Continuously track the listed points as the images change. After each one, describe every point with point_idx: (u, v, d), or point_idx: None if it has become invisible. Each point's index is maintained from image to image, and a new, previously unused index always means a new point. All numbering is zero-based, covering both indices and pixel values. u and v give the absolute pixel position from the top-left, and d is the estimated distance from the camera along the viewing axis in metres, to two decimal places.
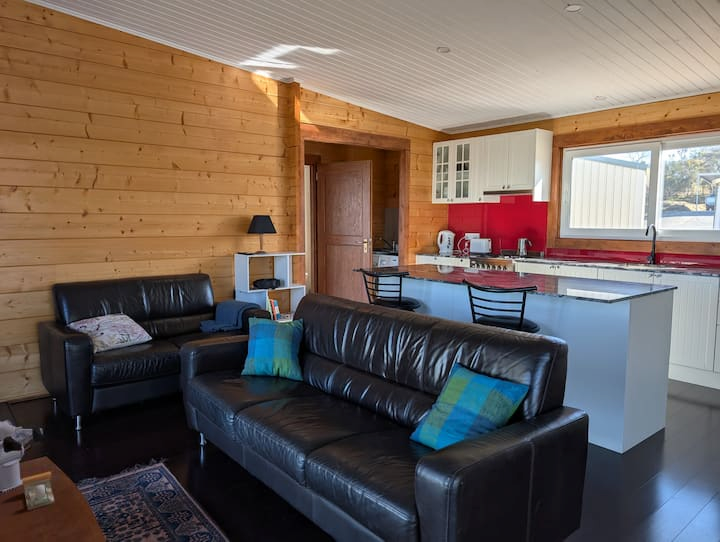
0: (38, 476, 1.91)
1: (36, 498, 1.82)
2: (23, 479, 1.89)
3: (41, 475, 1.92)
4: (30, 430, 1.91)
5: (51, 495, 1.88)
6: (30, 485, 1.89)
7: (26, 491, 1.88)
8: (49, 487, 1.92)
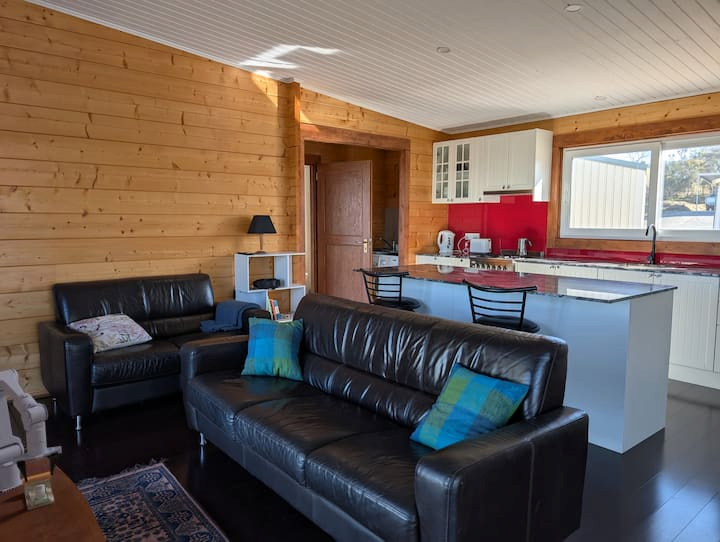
0: (38, 476, 1.91)
1: (36, 498, 1.82)
2: (23, 479, 1.89)
3: (41, 475, 1.92)
4: None
5: (51, 495, 1.88)
6: (30, 485, 1.89)
7: (26, 491, 1.88)
8: (49, 487, 1.92)
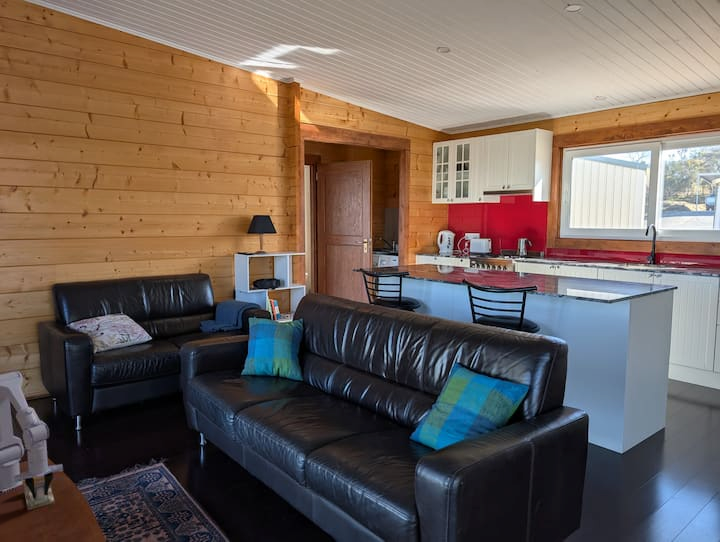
0: None
1: (36, 498, 1.82)
2: None
3: None
4: None
5: (51, 495, 1.88)
6: None
7: (26, 491, 1.88)
8: (49, 487, 1.92)
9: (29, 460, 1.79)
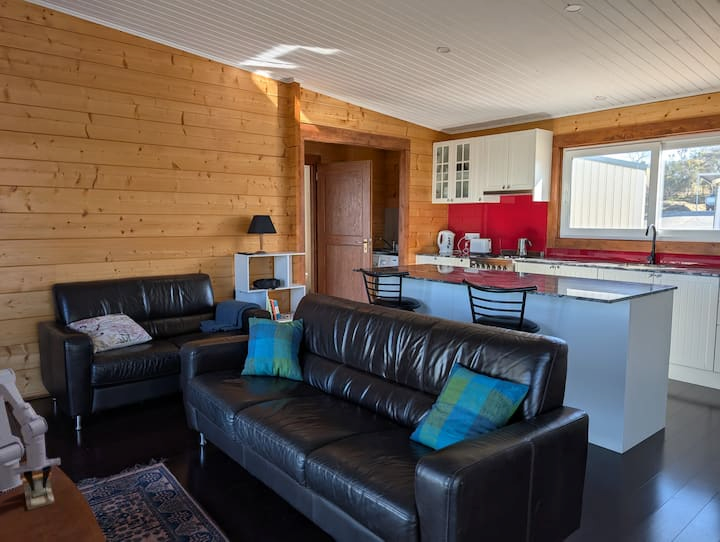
0: (38, 476, 1.91)
1: (34, 491, 1.87)
2: (23, 479, 1.89)
3: (41, 475, 1.92)
4: None
5: (51, 495, 1.88)
6: None
7: (26, 491, 1.88)
8: (49, 487, 1.92)
9: (28, 454, 1.84)
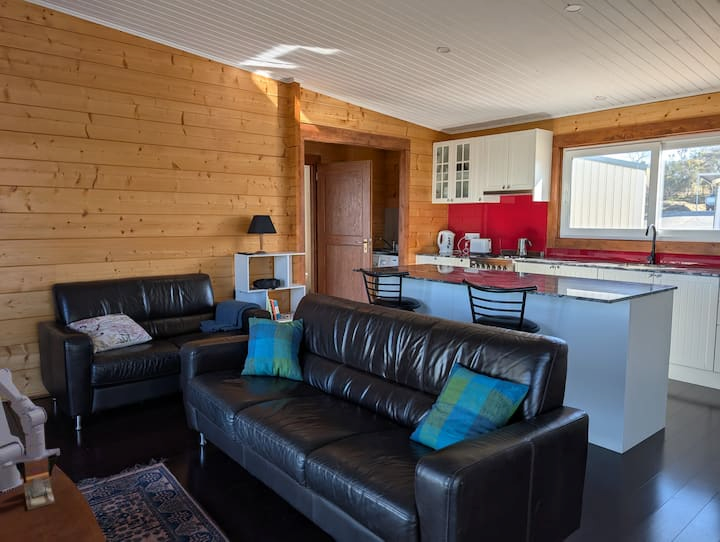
0: (38, 476, 1.91)
1: (34, 491, 1.87)
2: None
3: (41, 475, 1.92)
4: (48, 455, 1.88)
5: (51, 495, 1.88)
6: (30, 485, 1.89)
7: (26, 491, 1.88)
8: (49, 487, 1.92)
9: (27, 444, 1.84)
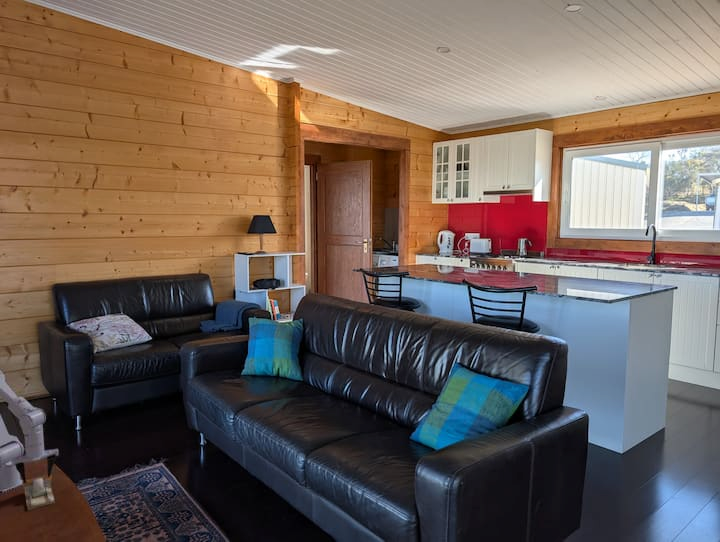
0: None
1: (34, 491, 1.87)
2: (23, 482, 1.89)
3: (41, 477, 1.92)
4: (47, 455, 1.91)
5: (51, 495, 1.88)
6: (30, 485, 1.89)
7: (26, 491, 1.88)
8: (49, 487, 1.92)
9: (28, 445, 1.87)
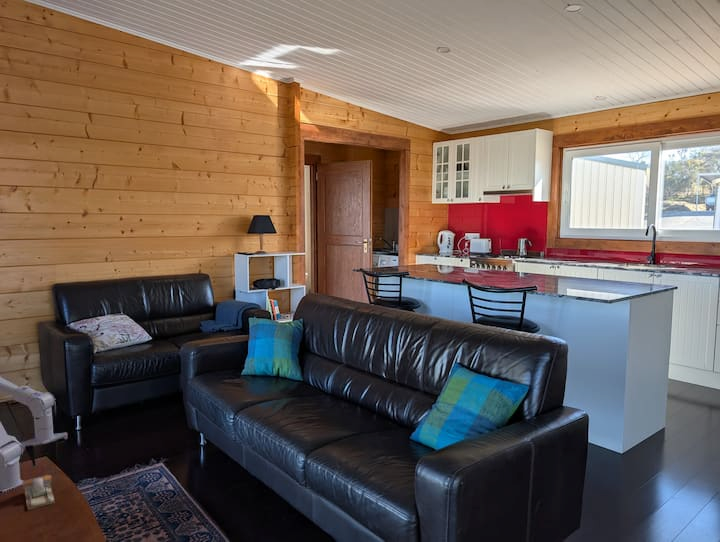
0: None
1: (34, 491, 1.87)
2: (23, 483, 1.89)
3: None
4: (56, 438, 1.93)
5: (51, 495, 1.88)
6: (30, 485, 1.89)
7: (26, 491, 1.88)
8: (49, 487, 1.92)
9: (38, 427, 1.89)
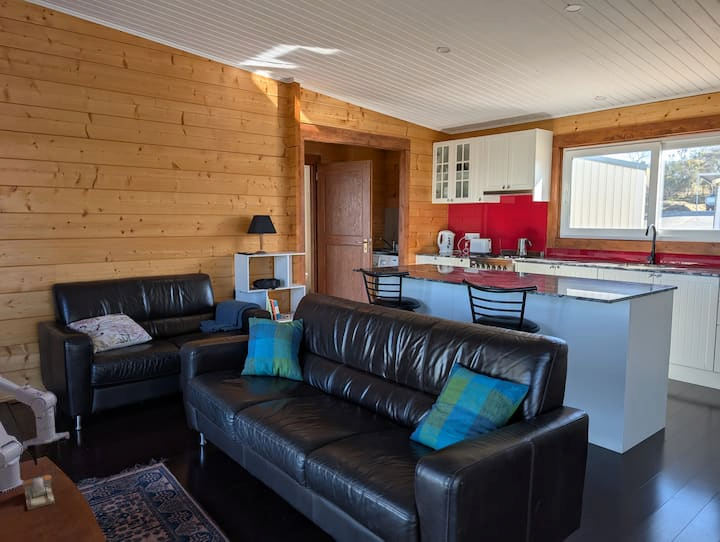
0: None
1: (34, 491, 1.87)
2: (23, 483, 1.89)
3: None
4: (58, 438, 1.94)
5: (51, 495, 1.88)
6: (30, 485, 1.89)
7: (26, 491, 1.88)
8: (49, 487, 1.92)
9: (40, 427, 1.89)
